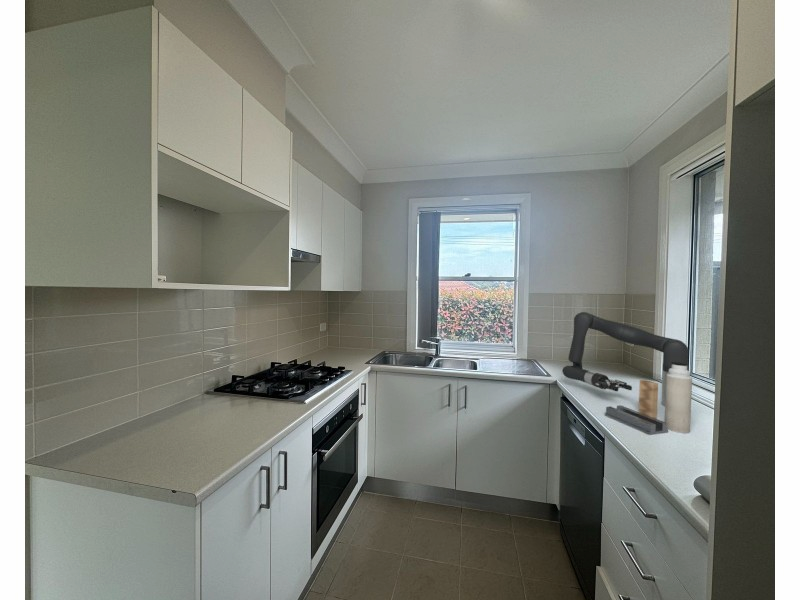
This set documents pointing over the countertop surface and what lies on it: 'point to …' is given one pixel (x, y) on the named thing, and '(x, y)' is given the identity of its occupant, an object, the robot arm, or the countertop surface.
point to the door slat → (648, 398)
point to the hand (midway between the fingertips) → (624, 388)
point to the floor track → (637, 420)
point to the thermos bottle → (678, 398)
